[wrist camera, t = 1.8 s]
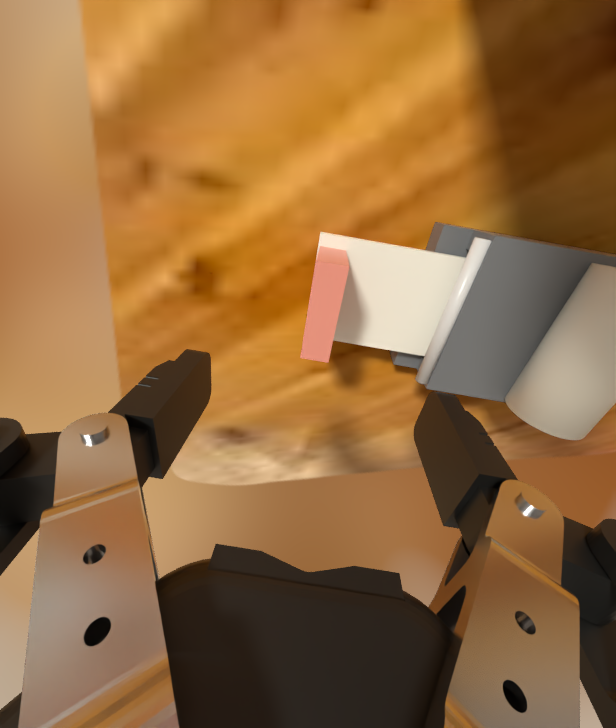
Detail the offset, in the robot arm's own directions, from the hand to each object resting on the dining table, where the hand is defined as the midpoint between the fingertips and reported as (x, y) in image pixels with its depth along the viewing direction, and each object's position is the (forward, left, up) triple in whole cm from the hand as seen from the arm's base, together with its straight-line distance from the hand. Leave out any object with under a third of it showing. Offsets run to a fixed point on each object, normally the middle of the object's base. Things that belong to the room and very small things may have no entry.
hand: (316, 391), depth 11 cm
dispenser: (0, +14, -15) cm, 21 cm away
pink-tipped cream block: (0, +9, -13) cm, 16 cm away
